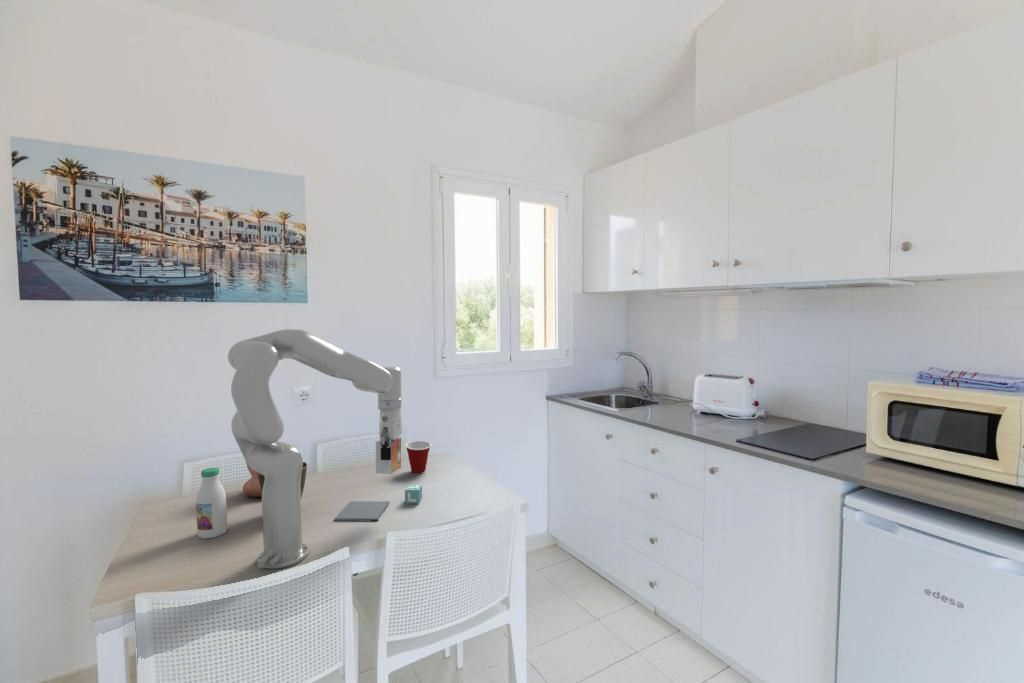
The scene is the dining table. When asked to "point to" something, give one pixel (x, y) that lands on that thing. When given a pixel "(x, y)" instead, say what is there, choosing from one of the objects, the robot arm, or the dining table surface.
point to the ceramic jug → (252, 484)
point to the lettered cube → (413, 494)
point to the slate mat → (362, 510)
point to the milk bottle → (211, 505)
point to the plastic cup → (418, 455)
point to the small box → (394, 462)
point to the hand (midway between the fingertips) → (390, 455)
